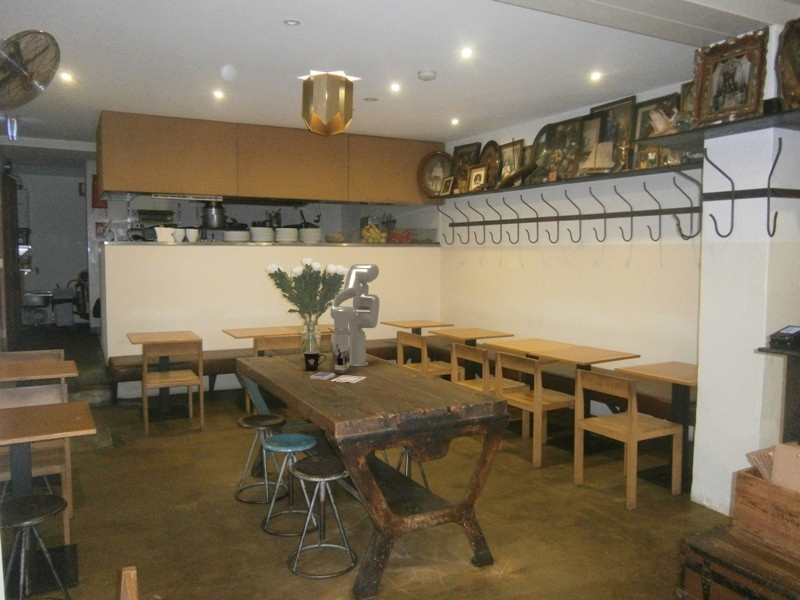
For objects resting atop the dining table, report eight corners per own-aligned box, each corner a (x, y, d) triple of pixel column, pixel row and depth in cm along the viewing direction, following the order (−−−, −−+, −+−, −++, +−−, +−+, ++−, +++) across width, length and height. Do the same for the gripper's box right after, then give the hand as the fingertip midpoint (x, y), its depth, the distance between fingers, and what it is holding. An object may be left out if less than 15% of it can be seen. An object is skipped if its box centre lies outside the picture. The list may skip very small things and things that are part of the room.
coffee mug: (301, 370, 348) (301, 353, 347) (308, 368, 356) (308, 350, 355) (320, 372, 344) (319, 354, 344) (326, 369, 352) (326, 352, 352)
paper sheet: (343, 375, 335) (343, 375, 335) (366, 377, 330) (366, 376, 330) (330, 381, 321) (330, 380, 321) (354, 383, 316) (354, 382, 316)
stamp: (340, 368, 345) (339, 347, 343) (348, 368, 343) (348, 347, 341) (334, 370, 339) (334, 349, 337) (343, 371, 337) (343, 350, 335)
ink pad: (320, 374, 337) (320, 372, 337) (335, 376, 334) (335, 373, 334) (310, 378, 327) (310, 375, 327) (325, 380, 324) (325, 377, 324)
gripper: (341, 328, 347) (342, 360, 349) (328, 333, 332) (328, 366, 334) (353, 329, 344) (354, 361, 347) (340, 333, 329) (341, 367, 331)
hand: (341, 363), depth 340 cm, fingers closed on stamp, 3 cm apart
